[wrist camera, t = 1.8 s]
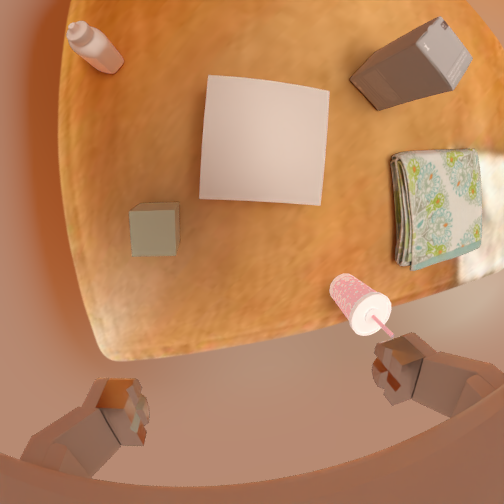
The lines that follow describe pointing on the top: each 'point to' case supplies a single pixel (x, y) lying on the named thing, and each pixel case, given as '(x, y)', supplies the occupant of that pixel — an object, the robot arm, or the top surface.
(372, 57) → the skincare box
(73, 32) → the eye dropper bottle
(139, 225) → the green block
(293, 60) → the top surface
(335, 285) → the beverage cup
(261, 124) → the storage box
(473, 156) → the towel
